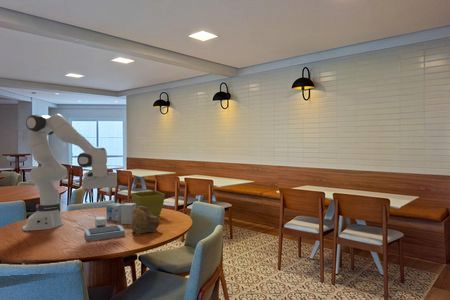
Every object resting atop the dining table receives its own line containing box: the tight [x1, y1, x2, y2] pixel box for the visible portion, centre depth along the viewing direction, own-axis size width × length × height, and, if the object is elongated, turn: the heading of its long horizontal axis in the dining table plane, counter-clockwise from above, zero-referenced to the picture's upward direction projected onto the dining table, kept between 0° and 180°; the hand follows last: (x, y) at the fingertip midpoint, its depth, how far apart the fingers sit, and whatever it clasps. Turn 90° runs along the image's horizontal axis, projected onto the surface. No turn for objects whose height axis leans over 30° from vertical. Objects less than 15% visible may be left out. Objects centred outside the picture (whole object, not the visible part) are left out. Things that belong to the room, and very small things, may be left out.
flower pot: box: [130, 190, 166, 218], centre depth 234 cm, size 19×19×17 cm
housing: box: [94, 215, 107, 228], centre depth 201 cm, size 5×8×7 cm, turn 29°
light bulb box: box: [106, 202, 124, 222], centre depth 226 cm, size 11×7×11 cm, turn 68°
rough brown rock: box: [130, 206, 161, 235], centre depth 196 cm, size 23×17×15 cm
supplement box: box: [121, 202, 136, 225], centre depth 217 cm, size 7×7×13 cm
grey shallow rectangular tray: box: [84, 224, 126, 242], centre depth 188 cm, size 20×14×4 cm
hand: (100, 195), depth 201 cm, fingers open, 8 cm apart
